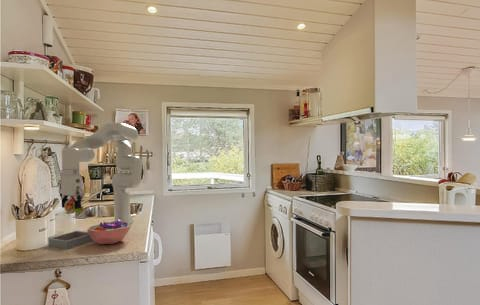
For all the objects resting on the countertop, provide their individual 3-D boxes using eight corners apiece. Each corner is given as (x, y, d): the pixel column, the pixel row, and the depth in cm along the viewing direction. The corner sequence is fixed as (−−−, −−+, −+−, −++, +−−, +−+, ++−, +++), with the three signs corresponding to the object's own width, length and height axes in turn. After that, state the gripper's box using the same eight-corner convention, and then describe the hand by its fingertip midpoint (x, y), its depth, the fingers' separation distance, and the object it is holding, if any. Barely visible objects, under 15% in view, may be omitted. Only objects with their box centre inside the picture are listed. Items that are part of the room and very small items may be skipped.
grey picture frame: (76, 237, 156) (76, 230, 156) (94, 240, 151) (94, 233, 151) (48, 245, 143) (48, 238, 143) (66, 249, 137) (66, 241, 137)
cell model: (90, 240, 151) (89, 218, 151) (131, 235, 158) (131, 214, 158) (85, 250, 135) (85, 226, 135) (132, 245, 142) (131, 221, 142)
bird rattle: (64, 219, 144) (80, 212, 143) (55, 199, 144) (71, 192, 144) (72, 217, 150) (87, 210, 150) (64, 197, 150) (79, 190, 150)
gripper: (89, 172, 146) (90, 207, 147) (66, 171, 154) (66, 205, 154) (76, 173, 140) (76, 210, 140) (51, 172, 147) (52, 207, 147)
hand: (71, 207), depth 147 cm, fingers closed on bird rattle, 8 cm apart
